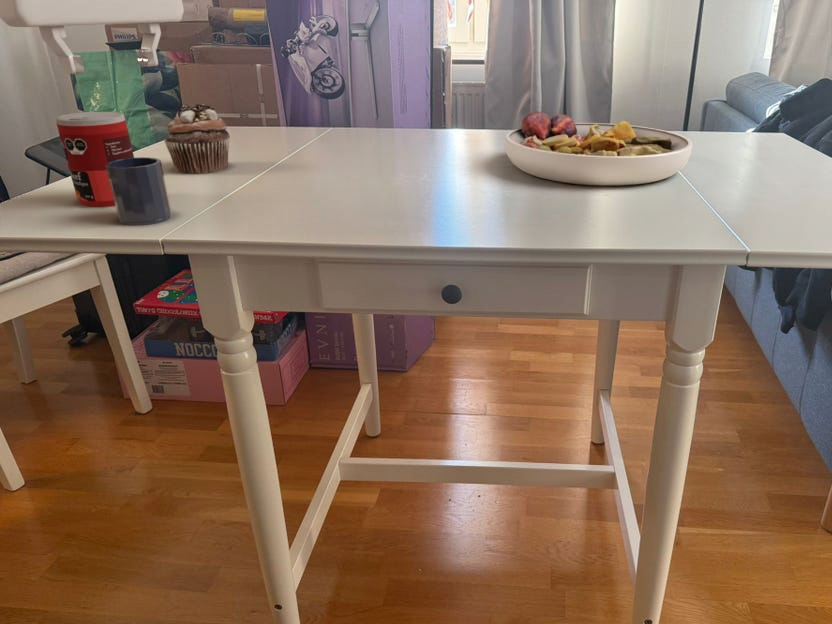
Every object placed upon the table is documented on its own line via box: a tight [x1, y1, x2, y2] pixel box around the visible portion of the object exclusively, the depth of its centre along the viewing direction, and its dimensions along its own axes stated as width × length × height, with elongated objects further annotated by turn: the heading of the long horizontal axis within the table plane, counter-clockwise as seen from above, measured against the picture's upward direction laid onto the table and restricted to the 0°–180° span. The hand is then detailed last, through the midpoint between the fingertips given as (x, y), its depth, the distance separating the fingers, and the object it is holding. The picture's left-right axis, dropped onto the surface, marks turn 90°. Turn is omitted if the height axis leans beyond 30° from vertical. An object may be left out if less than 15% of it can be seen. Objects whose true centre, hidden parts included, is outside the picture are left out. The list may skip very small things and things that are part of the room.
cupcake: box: [163, 102, 231, 175], centre depth 107 cm, size 10×10×10 cm
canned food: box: [55, 111, 135, 208], centre depth 89 cm, size 8×8×11 cm
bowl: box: [504, 110, 693, 187], centre depth 110 cm, size 30×30×8 cm
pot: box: [105, 156, 173, 227], centre depth 83 cm, size 6×6×7 cm
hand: (113, 69), depth 76 cm, fingers open, 8 cm apart
